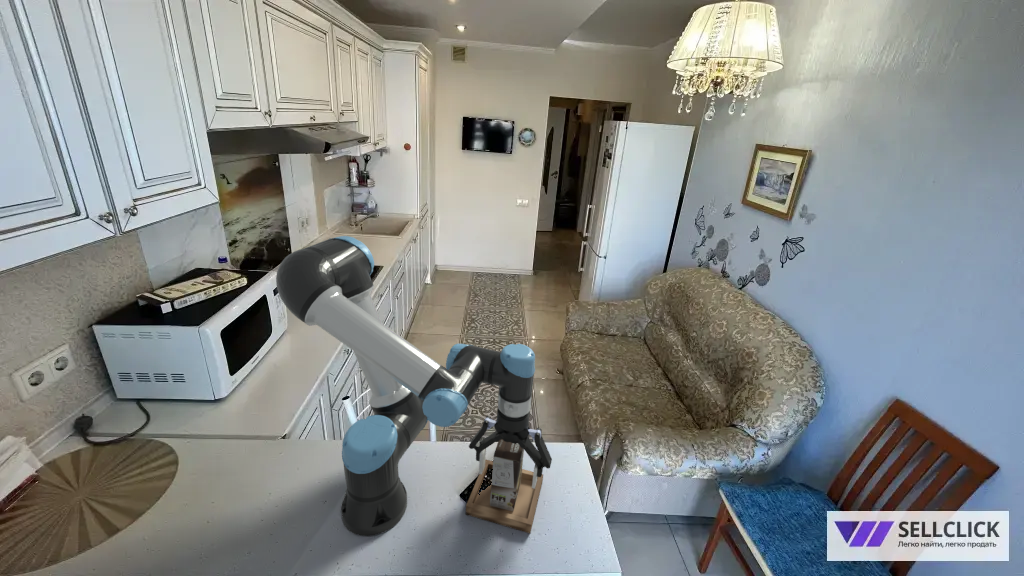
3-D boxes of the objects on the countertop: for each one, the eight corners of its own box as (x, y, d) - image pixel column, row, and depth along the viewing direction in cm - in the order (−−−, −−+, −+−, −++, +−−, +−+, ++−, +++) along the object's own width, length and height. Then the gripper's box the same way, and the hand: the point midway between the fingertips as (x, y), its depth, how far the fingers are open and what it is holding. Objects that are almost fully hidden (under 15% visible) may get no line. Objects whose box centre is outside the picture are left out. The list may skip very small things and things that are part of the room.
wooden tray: (465, 514, 99) (465, 505, 97) (485, 467, 112) (485, 459, 111) (530, 533, 95) (531, 524, 94) (542, 482, 109) (543, 474, 108)
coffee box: (514, 512, 99) (519, 462, 93) (489, 506, 100) (492, 456, 94) (521, 482, 107) (526, 435, 101) (498, 477, 108) (501, 429, 102)
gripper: (456, 406, 92) (455, 475, 100) (565, 432, 87) (554, 503, 95) (468, 387, 99) (466, 453, 107) (569, 410, 94) (559, 478, 102)
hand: (507, 477), depth 101 cm, fingers open, 13 cm apart
